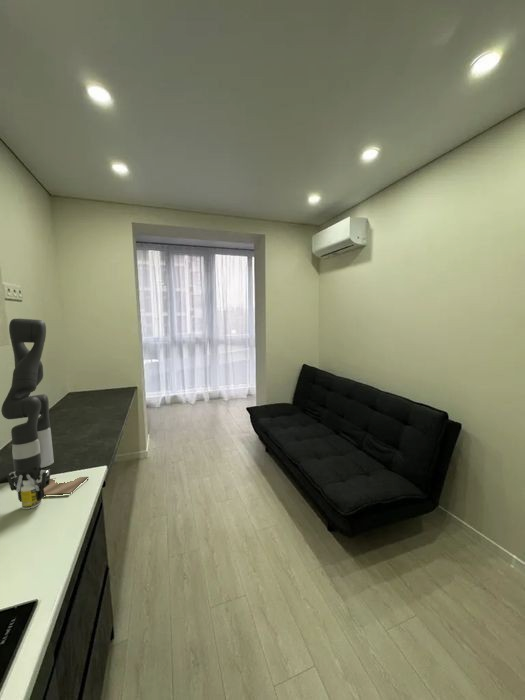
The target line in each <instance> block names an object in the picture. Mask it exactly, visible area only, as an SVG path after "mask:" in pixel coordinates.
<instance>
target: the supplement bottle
mask: <svg viewBox="0 0 525 700" xmlns="http://www.w3.org/2000/svg"><path fill="white" fill-rule="evenodd" d="M36 481H37V480H35V482H36ZM38 485H39V484H38ZM39 486H40V485H39ZM36 491H37V490H36V489H35V487H34V486H32V484H31V482H30V481H29V480H23V486H22V487H21V499H22V502H21V508H22V509H23V510H31V509H33V508H36V507H38V506H39V505H41V504H42V499H41V500H40V501H37V497H36ZM30 508H31V509H30Z"/></svg>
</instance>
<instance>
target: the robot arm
mask: <svg viewBox="0 0 525 700" xmlns="http://www.w3.org/2000/svg"><path fill="white" fill-rule="evenodd" d="M8 332H9V339H10V341H11V342H10V343H11V346H12V347H11V348H12V350H13V356H14V358H13V359H14V369H13V372H12V379H11V385H10V386H11V387H10V388H9V391H8V393H7V395H6V397H5V398H4V400H3V404H2V405H1V410H0V411H1V414H2V416H3V418H5V420H17V419H24V418H27V420H26V422H24V423H20V424H18V425H17V424H16V425H15V426H13V427H12V428H11V430H10V434H11V435H10V436H11V443H12V449H11V450H12V453H11V454H12V460H13V461H12V464H13V469H14V471H11V472H9V474H6V478H7V482H8V484H9V488H10V490H11V491H16V492H17V498H18V501H19V502H20V503H22V499H21V487H22V486H23V480H29V481H30V482H31V484H32V486H34V487H35V489H36V490H37V491H36V497H37V501H40V500H41V501H42V499H44V498H45V497H44V488H45V487H47V486H48V485H49V482H50V479H51V474H52V473H51V472H52V471H51V469H50V468H48V469H47V470H45V469H44V468H45V467H46V468H47V467H49V466H51V465H53V464H54V462H55V461H54V449H53V440H52V430H51V422H50V407H49V405H50V404H49V403H50V402H49V398H48V395H46V394H43V393H42V394H37V395H36V394H35V395H31V394H32V393H33V392H34V391H36V390H37V386H38V385H39V384H40V383H41V382H42V380H43V379H44V365H43V362H42V361H41V358H42V354H43V351H44V346H45V342H46V338H47V326H46V322H45V321H44V320H43V319H31V318H30V319H29V318H13V319H11V320H10V321H9V324H8ZM25 343H26V344H27V343H29V344H30V343H33V345H32V347H31V348H30V350H29V349H28V347H27V346H26V344H25ZM35 480H37V481H36V482H35ZM38 484H39V485H40V486H39V485H38Z"/></svg>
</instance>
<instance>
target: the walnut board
mask: <svg viewBox="0 0 525 700" xmlns="http://www.w3.org/2000/svg"><path fill="white" fill-rule="evenodd" d="M78 477H79V478H77V479H75V480H74V481H70V482H67V483H65V482H64V483H59V484H58V483H57V482H56V483H55V480H53V479H54V478H50V482H49V485H48V486H47V487H45V488H44V496H46V495H63V494H71V492H73V491H74V490H75V489H76V488H77V487H78V486H79V485H80V484H81V483H83V482H84V481H85V480H86V479H87V478H89V476H78ZM71 495H72V494H71Z"/></svg>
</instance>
